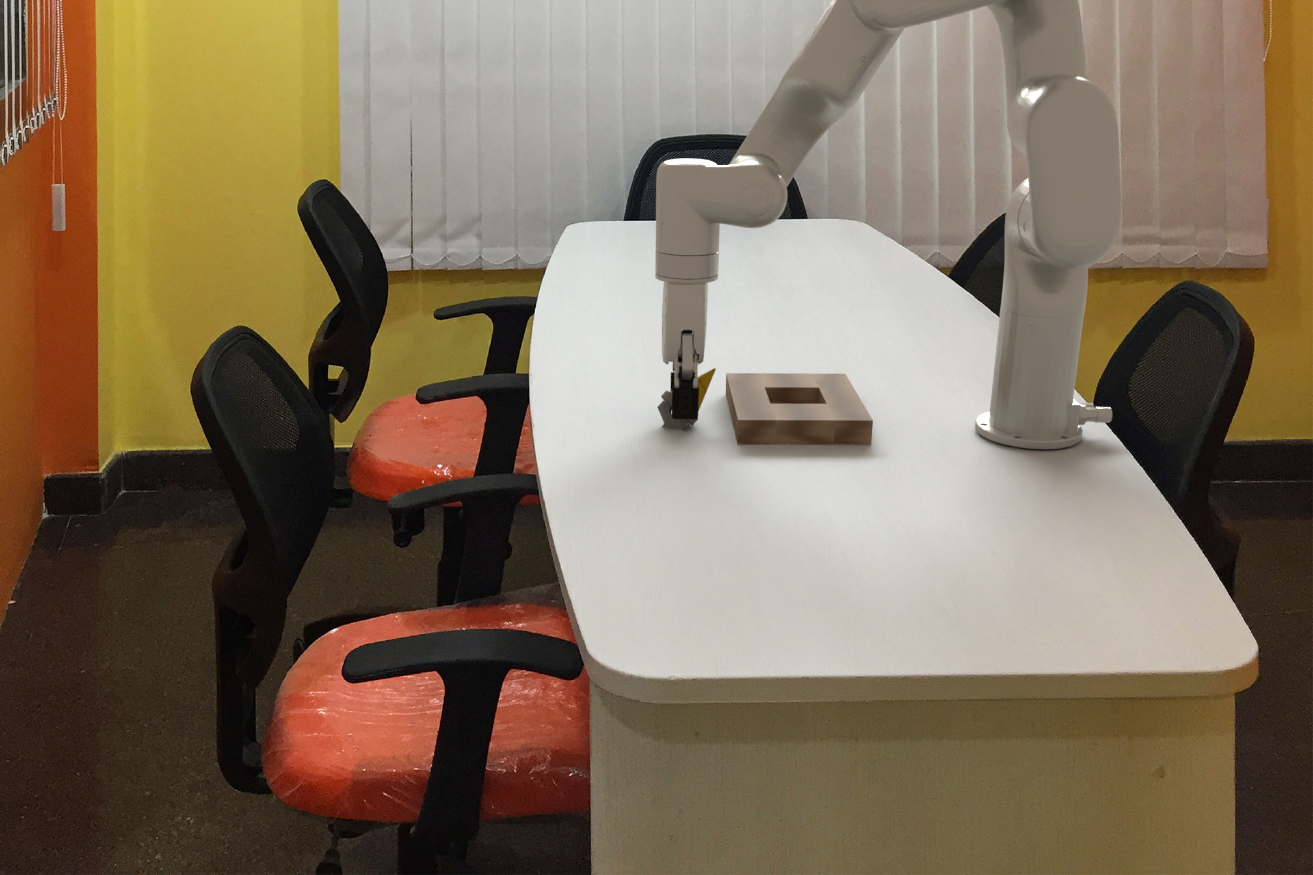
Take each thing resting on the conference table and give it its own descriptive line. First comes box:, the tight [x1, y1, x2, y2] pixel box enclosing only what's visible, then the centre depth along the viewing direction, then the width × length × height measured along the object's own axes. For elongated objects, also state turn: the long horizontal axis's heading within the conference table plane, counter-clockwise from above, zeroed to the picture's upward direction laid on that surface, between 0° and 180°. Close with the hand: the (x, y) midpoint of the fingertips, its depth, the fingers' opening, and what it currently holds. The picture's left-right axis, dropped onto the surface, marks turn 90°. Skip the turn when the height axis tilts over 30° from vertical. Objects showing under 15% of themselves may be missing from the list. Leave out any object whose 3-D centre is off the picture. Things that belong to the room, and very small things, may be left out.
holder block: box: [725, 372, 874, 445], centre depth 152 cm, size 16×20×3 cm
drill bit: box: [657, 368, 717, 431], centre depth 149 cm, size 5×5×10 cm
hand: (683, 409), depth 149 cm, fingers closed on drill bit, 5 cm apart
